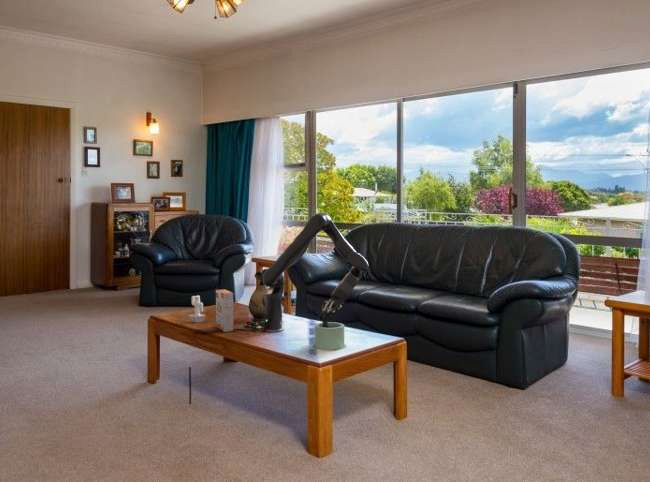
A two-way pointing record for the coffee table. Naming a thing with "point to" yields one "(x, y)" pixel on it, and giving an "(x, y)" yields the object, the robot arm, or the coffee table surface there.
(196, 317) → the figurine
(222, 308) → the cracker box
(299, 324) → the coffee table surface
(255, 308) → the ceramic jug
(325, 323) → the brush
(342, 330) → the jar
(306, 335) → the coffee table surface
